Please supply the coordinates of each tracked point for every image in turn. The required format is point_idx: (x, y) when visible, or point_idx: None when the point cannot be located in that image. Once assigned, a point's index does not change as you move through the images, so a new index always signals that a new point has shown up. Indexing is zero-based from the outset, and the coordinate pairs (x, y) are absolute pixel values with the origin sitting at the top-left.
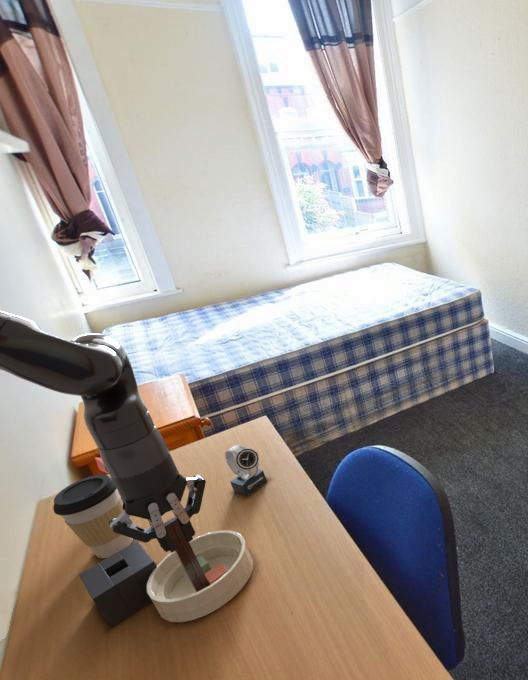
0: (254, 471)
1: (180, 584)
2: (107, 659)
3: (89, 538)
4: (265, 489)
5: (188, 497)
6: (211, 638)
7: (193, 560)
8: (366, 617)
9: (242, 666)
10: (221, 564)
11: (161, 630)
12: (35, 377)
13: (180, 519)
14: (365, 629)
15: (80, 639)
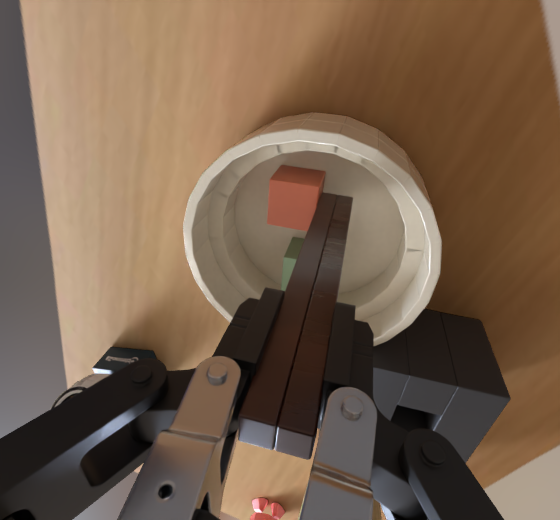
0: (93, 378)
1: (347, 281)
2: (552, 253)
3: (374, 510)
4: (120, 333)
5: (111, 483)
6: (423, 38)
7: (312, 248)
8: None
9: None
10: (267, 216)
11: (450, 208)
12: None
13: (228, 400)
14: None
15: (521, 349)
